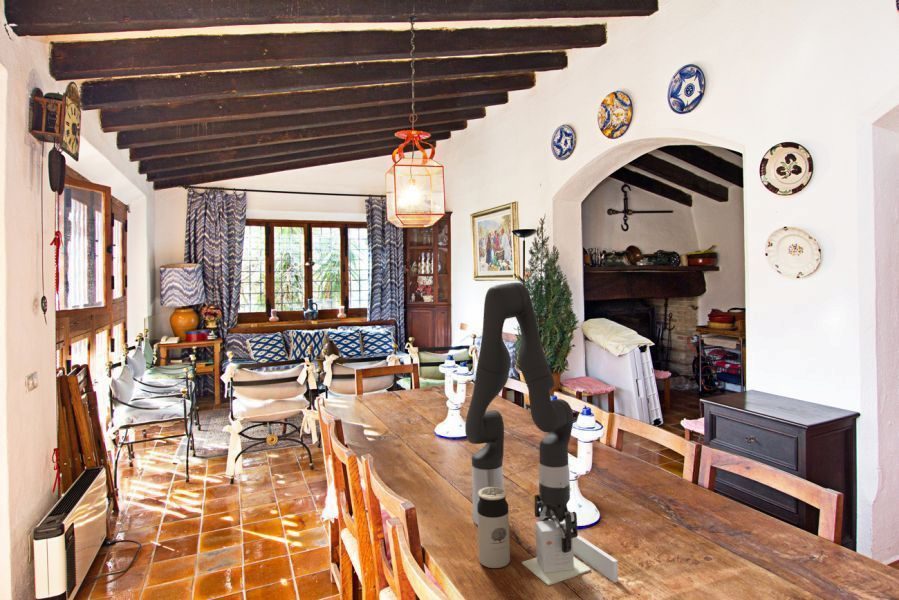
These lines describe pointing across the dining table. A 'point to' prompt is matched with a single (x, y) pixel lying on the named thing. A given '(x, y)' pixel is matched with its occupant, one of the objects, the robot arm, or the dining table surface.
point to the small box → (552, 548)
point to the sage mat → (558, 575)
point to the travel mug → (493, 527)
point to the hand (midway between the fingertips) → (555, 543)
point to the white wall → (596, 558)
